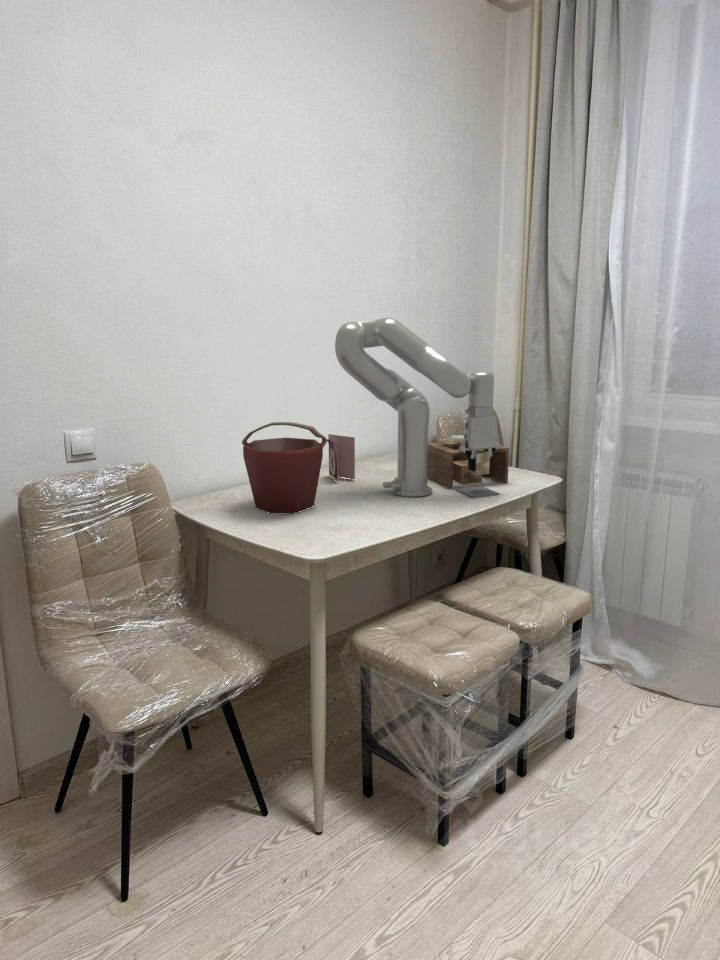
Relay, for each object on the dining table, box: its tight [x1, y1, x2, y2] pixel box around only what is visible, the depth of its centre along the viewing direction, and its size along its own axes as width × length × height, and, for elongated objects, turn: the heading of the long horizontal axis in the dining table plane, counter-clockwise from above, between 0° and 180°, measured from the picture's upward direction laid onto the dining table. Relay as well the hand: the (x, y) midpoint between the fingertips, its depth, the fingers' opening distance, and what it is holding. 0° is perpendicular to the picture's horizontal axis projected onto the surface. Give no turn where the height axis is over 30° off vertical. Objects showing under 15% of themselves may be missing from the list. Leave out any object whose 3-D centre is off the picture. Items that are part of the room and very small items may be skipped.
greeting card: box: [326, 433, 356, 483], centre depth 228 cm, size 11×7×15 cm, turn 18°
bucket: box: [241, 421, 328, 514], centre depth 193 cm, size 24×22×25 cm
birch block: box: [469, 450, 490, 476], centre depth 209 cm, size 4×4×7 cm
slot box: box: [427, 440, 510, 490], centre depth 226 cm, size 22×18×12 cm
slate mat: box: [455, 485, 500, 499], centre depth 212 cm, size 10×10×1 cm
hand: (479, 468), depth 210 cm, fingers closed on birch block, 4 cm apart
